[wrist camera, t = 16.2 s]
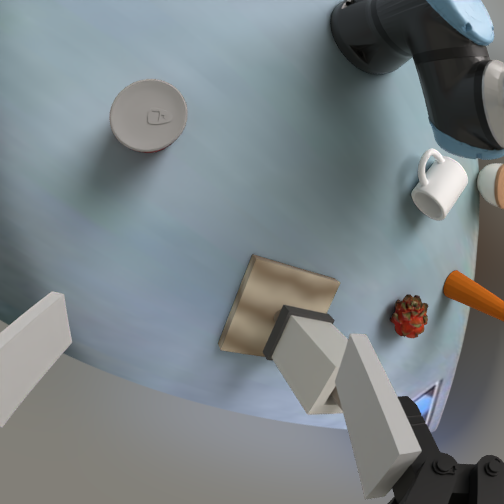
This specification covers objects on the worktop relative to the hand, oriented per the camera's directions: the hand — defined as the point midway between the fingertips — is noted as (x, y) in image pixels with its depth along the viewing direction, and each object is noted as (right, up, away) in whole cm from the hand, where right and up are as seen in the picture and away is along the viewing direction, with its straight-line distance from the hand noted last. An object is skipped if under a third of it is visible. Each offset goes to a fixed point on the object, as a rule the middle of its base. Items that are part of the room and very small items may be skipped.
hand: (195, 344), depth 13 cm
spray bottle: (+53, -4, +54) cm, 76 cm away
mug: (+35, +19, +40) cm, 57 cm away
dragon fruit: (+34, -9, +49) cm, 60 cm away
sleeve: (+9, -9, +30) cm, 33 cm away
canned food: (-11, +21, +24) cm, 34 cm away
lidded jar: (+59, +21, +47) cm, 79 cm away
